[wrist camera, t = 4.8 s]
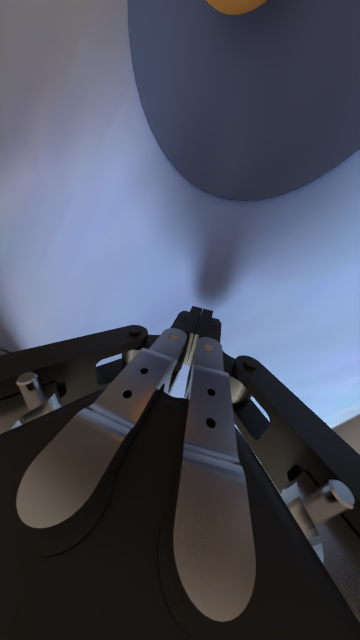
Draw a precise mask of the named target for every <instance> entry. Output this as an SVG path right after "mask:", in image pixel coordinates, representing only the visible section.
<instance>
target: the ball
mask: <svg viewBox="0 0 360 640" xmlns="http://www.w3.org/2000/svg"><path fill="white" fill-rule="evenodd" d="M206 1H207V2H208V3H209V4H210V5H211V6H212V7H214V8H215V9H216V10H218V11H219V12H222V13H224V14H229V15H240V14H244V13H247V12H250V11H252V10H254V9H256V8H258V7H259V6H261V5H262V4H263V3H265V2H266V1H267V0H206Z"/></svg>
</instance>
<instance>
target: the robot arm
mask: <svg viewBox="0 0 360 640" xmlns="http://www.w3.org/2000/svg"><path fill="white" fill-rule="evenodd" d="M201 312H202V314H201ZM212 314H213V311H211V310H207V309H203V311H202V308H198V307H194V306H192V308H191V311H190V312H188V311H182V312H180V313H179V314H178V316H177V318H176V320H175V321H174V323H173V325H172V326H171V328H169V329H166V330H164V331H163V332H162V334H161V335H148V331H147V329H146V328H144V327H142V326H139V325H130V326H126V327H121V328H117V329H113V330H108V331H104V332H99V333H95V334H91V335H86V336H82V337H78V338H73V339H69V340H65V341H60V342H56V343H52V344H47V345H43V346H38V347H34V348H30V349H25V350H21V351H17V352H12V353H7V352H4V351H2V350H0V640H360V455H359V454H358V453H357V452H356V451H355V450H354V449H353V448H351V447H350V446H349V445H348V444H347V443H346V442H345V441H344V440H343V439H342V438H341V437H340V436H339V435H337V434H336V433H335V432H334V431H333V430H332V429H331V428H330V427H329V426H328V425H327V424H326V423H325V422H323V421H322V420H321V419H320V418H319V417H318V416H317V415H316V414H315V413H314V412H313V411H312V410H311V409H309V408H308V407H307V406H306V405H305V404H304V403H303V402H302V401H301V400H300V399H299V398H298V397H296V396H295V395H294V394H293V393H292V392H291V391H290V390H289V389H288V388H287V387H286V386H285V385H284V384H282V383H281V382H280V381H279V380H278V379H277V378H276V377H275V376H274V375H273V374H272V373H271V372H270V371H268V370H267V369H266V368H265V367H264V366H263V365H262V364H261V363H260V362H259V361H257V360H256V359H254V358H252V357H249V356H238V357H237V358H236V359H234V358H232V357H230V356H228V355H227V354H226V353H224V352H223V351H222V346H221V344H220V337H221V322H220V321H219V319H215V318H212ZM200 316H201V317H200ZM190 352H191V353H190ZM121 353H122V358H121V359H118V360H115V361H112V362H109V363H107V364H104V365H101V366H98V367H95V366H96V364H97V363H98V362H99V361H100V360H102V359H105V358H108V357H111V356H114V355H118V354H121ZM189 355H190V357H189ZM188 358H189V361H188ZM187 362H188V366H190V370H189V374H188V378H187V383H186V389H185V395H184V398H175V397H172V396H170V393H171V391H172V389H173V386H174V384H175V382H176V380H177V378H178V375H179V373H180V370H181V368H182V365H183V364H185V365H187ZM251 396H253V397H254V398H255V400H256V401H257V402H258V403H259V404H260V406H261V407H262V408H263V409H264V410H265V411H266V413H267V414H268V416H269V419H270V422H269V421H268V420H267V418H266V417H265V416H264V415H263V414H262V412H261V411H260V410H259V409H258V408H257V406H256V405H255V404H254V403H253V401H252V400H251V399H250V398H251ZM234 423H235V424H236V426H237V427H238V429H239V430H240V432H241V433H242V434H241V433H240V432H239V430H238V429H237V428H236V427H235V424H234ZM250 447H251V448H250ZM252 450H253V451H252ZM254 453H255V454H254ZM255 455H256V456H257V457H256V456H255ZM257 458H258V459H259V460H258V459H257ZM259 461H260V462H261V464H262V465H263V467H264V468H265V470H266V471H267V473H268V474H269V476H270V477H271V479H272V481H273V482H274V483H275V485H276V487H277V488H278V490H279V491H280V493H281V494H282V496H280V494H279V492H278V491H277V489H276V488H275V486H274V484H273V483H272V481H271V480H270V478H269V477H268V475H267V473H266V472H265V470H264V469H263V467H262V465H261V464H260V462H259Z"/></svg>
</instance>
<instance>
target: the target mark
mask: <svg viewBox="0 0 360 640" xmlns="http://www.w3.org/2000/svg"><path fill="white" fill-rule="evenodd" d="M128 28H129V39H130V48H131V58H132V64H133V69H134V75H135V80H136V85H137V89H138V93H139V96H140V100H141V104H142V107H143V110H144V113H145V116H146V118H147V121H148V124H149V126H150V129H151V131H152V133H153V135H154V137H155V139H156V141H157V143H158V145H159V146H160V148H161V149H162V151H163V152H164V154H165V155H166V157H167V158H168V160H169V161H170V162H171V163H172V165H173V166H174V167H175V168H176V169H177V170H178V172H179V173H180V174H181V175H183V176H184V177H185V178H186V179H187V180H188V181H190V182H191V183H192V184H194V185H195V186H197V187H198V188H200V189H202V190H203V191H206V192H208V193H210V194H213V195H215V196H218V197H223V198H227V199H232V200H257V199H264V198H269V197H273V196H278V195H281V194H283V193H286V192H289V191H292V190H294V189H297V188H299V187H301V186H303V185H305V184H307V183H309V182H311V181H313V180H315V179H317V178H318V177H320V176H322V175H323V174H325V173H326V172H328V171H330V170H331V169H333V168H334V167H336V166H337V165H339V164H340V163H341V162H343V161H344V160H345V159H347V158H348V157H349V156H351V155H352V154H353V153H354V152H356V151H357V150H358V149H360V0H267V1H266V2H265V3H263V4H262V5H261V6H259V7H258V8H256V9H254V10H252V11H250V12H247V13H244V14H240V15H229V14H224V13H222V12H219V11H218V10H216V9H215V8H214V7H212V6H211V5H210V4H209V3H208V2H207V1H206V0H128Z"/></svg>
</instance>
